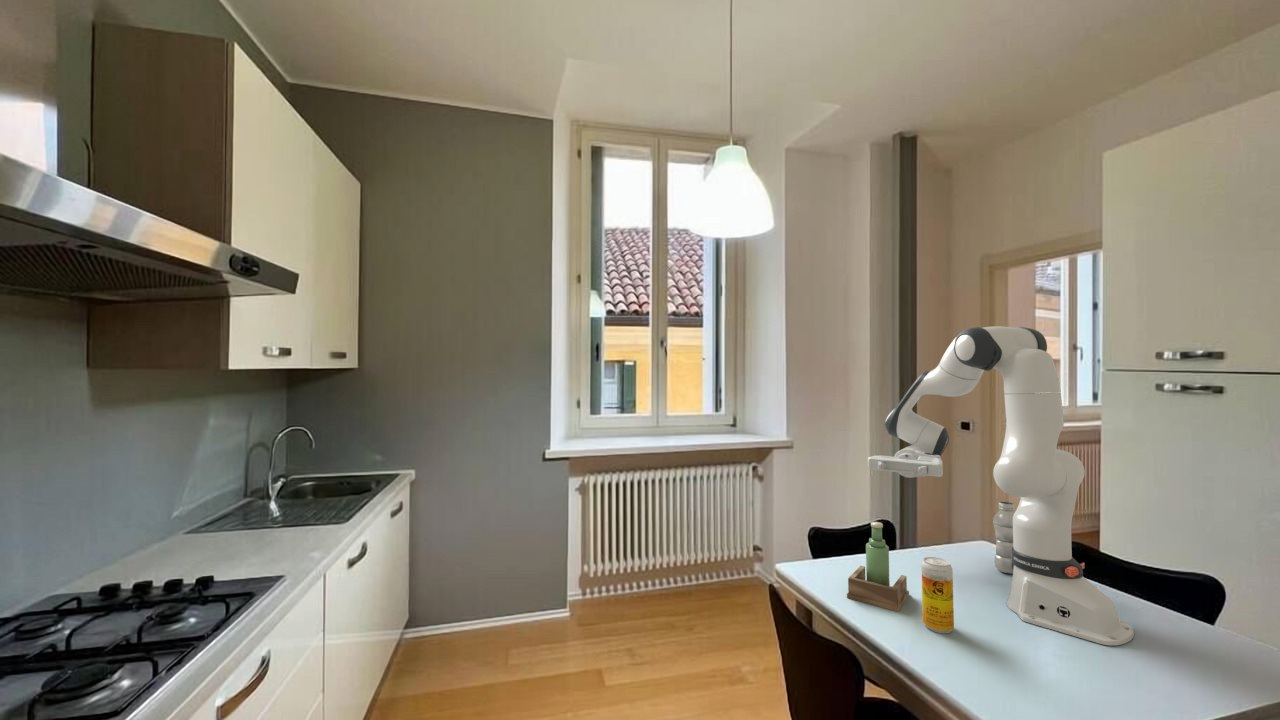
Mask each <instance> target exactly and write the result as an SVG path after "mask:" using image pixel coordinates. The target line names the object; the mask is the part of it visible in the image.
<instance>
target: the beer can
mask: <svg viewBox="0 0 1280 720" xmlns="http://www.w3.org/2000/svg"><path fill="white" fill-rule="evenodd" d="M953 579H954V577H953V567H952V565H951V562H950V561H949V560H947V559H945V558H941V557H936V556H935V557H934V556H926V557H924V558H923V560H922V561H921V594H922V595H921V597H922V622H923V624H924V625H925V627H926V628H927V629H929V630H930V631H933V632H934V633H938V634H949V633H951V632H952V631H953V630H954V628H955V620H954V619H955V617H954V616H955V615H954V612H955V611H954V610H955V609H954V580H953Z"/></svg>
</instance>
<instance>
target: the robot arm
mask: <svg viewBox="0 0 1280 720" xmlns="http://www.w3.org/2000/svg"><path fill="white" fill-rule="evenodd" d="M992 369H994V370H996V371H998V373H1000V375H1001V377H1002V379H1003V380H1002V381H1003V394H1004V395H1003V396H1004V406H1005V407H1004V408H1005V409H1004V410H1005V422H1006V424H1005V425H1006V426H1005V435H1004V439H1003V444H1002V450H1001V454H1000V457H999V458H998V460H997V461H996V463H995V465H994V467H993V470H992V471H993V473H992V474H993V480H994V482H995V484H996V485H997V487H998V488H999V489H1000V490H1001V491H1002V492H1004V493H1005V494H1007V495H1008V496H1010V497H1015V498H1020V500H1019V503H1018V505H1017V508H1016V509H1015V512H1014V515H1013V547H1012V549H1011V563H1012V569H1013V574H1012V578H1011V580H1012V581H1011V587H1010V593H1009V596H1008V598H1007V602H1006V604H1007V607H1008V608H1009V609H1010V610H1012V612H1014V613H1015V614H1017V615H1018V618H1019V619H1021V620H1022V621H1023V622H1025V623H1028V624H1033V625H1035V626H1039V627H1041V628H1042V627H1043V628H1046V629H1049V630H1053V631H1056V632H1060V633H1063V634H1066V635H1068V636H1069V635H1070V636H1073V637H1075V638H1080V639H1083V640H1086V641H1090V642H1093V643H1095V644H1096V643H1097V644H1099V645H1103V646H1121V645H1125V644H1127V643H1128V642H1130V641H1131V640H1132V639H1133V638H1134V636H1135V635H1134V634H1135V633H1134V629H1133V627H1132V626H1131V625H1130V624H1128V623H1126V622H1123V621H1120V617H1119V613H1118V609H1117V607H1116V606H1117V605H1115V602H1114V600H1112V599H1111V598H1110V597H1109V596H1108V595H1106V594H1105V593H1104V592H1103V591H1101V590H1100V589H1099V588H1098V587H1096V586H1095V585H1094V584H1093V583H1091V582H1090V581H1089V580H1087V578H1085V577H1084V570H1083V569H1085V567H1086V566H1085V562H1081V563H1079V562H1078V561H1077V560H1076V559H1075V558H1074V557H1073V556H1072V555H1073V553H1072V552H1073V551H1072V523H1073V521H1072V520H1073V515H1074V511H1075V506H1076V501H1077V498H1078V493H1079V492H1078V491H1079V488H1080V485H1081V483H1082V481H1083V480H1084V478H1085V473H1086V472H1085V467H1084V464H1083V463H1082V461H1081V460H1080V458H1078V457H1077V456H1076V455H1075V454H1073V453H1071V452H1069V451H1066V450H1063V449H1058V448H1057V447H1058V441H1059V437H1060V434H1061V432H1062V430H1063V428H1064V424H1065V422H1064V411H1063V402H1062V401H1063V399H1062V393H1061V384H1060V378H1059V375H1058V370H1057V368H1056V364H1055V362H1054V359H1053V356H1052V355H1051V354H1050V353H1049V352H1048V343H1047V339H1046V337H1045V336H1044V335H1043V333H1042V332H1040V331H1039V330H1037V329H1034V328H1028V327H1025V326H1023V327H1022V326H1021V327H1016V326H1015V327H1014V326H1013V327H1012V326H1003V325H1002V326H1001V325H1000V326H999V325H996V326H994V325H993V326H983V327H980V326H976V327H971V328H966V329H965V330H962V331H960V332H959V333H958V335H957V336H955V338H954V339H953V340H952V341H951V343H950V344H949V345H948V347H947V348H946V350H945V352H944V353H943V355H942V357H941V359H940V361H939V363H938V364H937V366H936V367H935V368H934V369H931V370H926V371H924V372H922V373H921V374H920V375H919V376H918V377H917V378H916V379H915V381H914V382H913V383H912V385H911V386H910V387H909V389H908V390H907V391H906V392H905V394H904V395H903V397H902V398H901V400H900V401H899V403H898V404H897V405H896V407H895V408H893V410H891V412H890V413H888V415H887V416H886V419H885V421H884V427H885V429H886V431H887V434H889V435H890V436H892V437H895V438H897V439H901V440H902V441H904V442H906V443H908V444H910V445H909V446H906V447H904V448H902V449H900V450H899V451H897V452H895V453H894V456H889V455H871V456H869V457H867V468H868V469H869V470H875V471H881V472H883V471H884V472H893V473H894V472H895V473H897V474H899V475H900V476H902V477H904V478H910V479H911V478H920V477H921V478H922V477H932V478H938V477H939V478H941V477H943V475H944V473H943V472H944V470H943V469H944V468H943V466H944V465H943V464H944V462H943V460H942V458H941V456H942V454H943V453H944V452H945V450H946V448H947V446H948V445H949V444H948V443H949V441H950V437H949V431H948V430H947V428H946V427H945V426H943V425H941V424H939V423H936V422H935V421H933V420H930V419H928V418H926V417H924V416H921V415H920V414H918V413H916V412H914V410H913V408H914V406H916V404H917V402H918V401H919V400H920V398H922V396H926V395H935V396H936V395H937V396H941V397H942V396H943V397H961V396H964V395H967V394H969V393H971V392H972V391H973V390H974V389H975V387H977V385H978V383H979V382H980V380H981V378H982V376H983V374H984V372H985V371H986V372H989V371H991V370H992Z"/></svg>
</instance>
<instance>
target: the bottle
mask: <svg viewBox="0 0 1280 720" xmlns="http://www.w3.org/2000/svg"><path fill="white" fill-rule="evenodd" d="M870 527H871V537H869V538H868V542H867V543H866V544H865V563H866V564H865V565H866V566H865V575H866V580H867V581H869V582H873V583H877V584H881V585H886V586H891V584H890V582H891V580H890V547H889V545H887V544H886V540H885V539H883V528H884V524H883V523H882V522H879V521H871V522H870Z"/></svg>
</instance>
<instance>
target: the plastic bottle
mask: <svg viewBox="0 0 1280 720" xmlns="http://www.w3.org/2000/svg"><path fill="white" fill-rule="evenodd" d="M997 509H999V510H998V511H997V512H996V514H994V516H993V519H992V523H993V529H994V532H995V533H994V534H995V540H996V541H995V543H996V544H995V545H996V546H995V554H994V566H995V568H996V569H997V570H998V571H999V572H1002V573H1005V574H1009V575H1013V569H1012V563H1011V549H1012V547H1013V515H1014V513H1015V512H1014V511H1016V508H1015V503H1014V502H1010V501H999V502H998V507H997Z"/></svg>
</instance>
